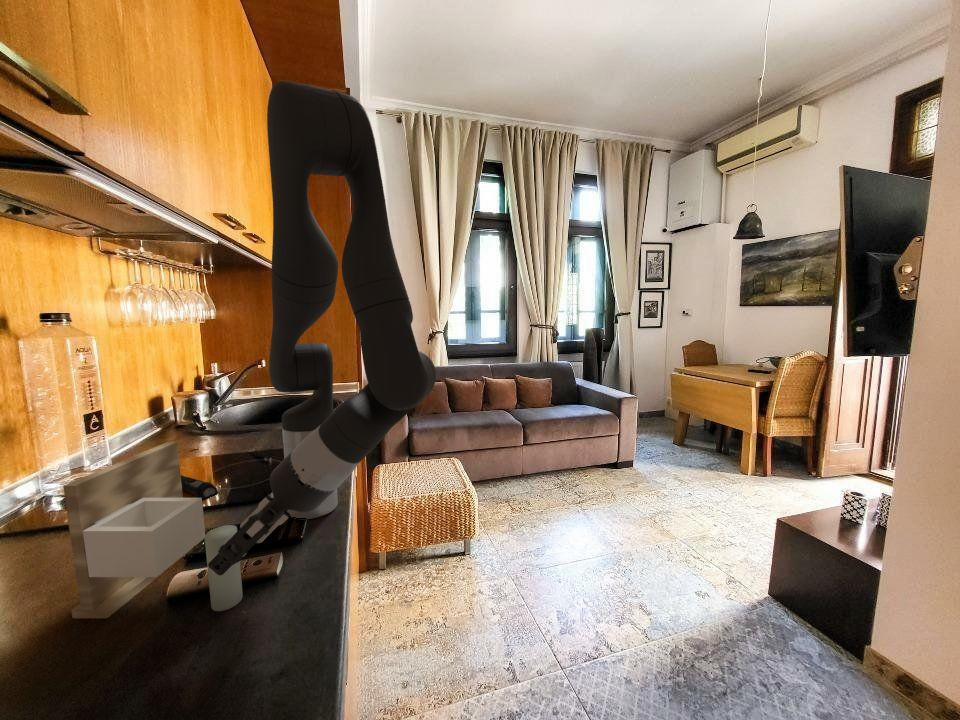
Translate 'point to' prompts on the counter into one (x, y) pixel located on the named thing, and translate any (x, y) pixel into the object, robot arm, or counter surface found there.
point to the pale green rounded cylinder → (229, 584)
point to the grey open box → (144, 537)
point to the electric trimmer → (198, 487)
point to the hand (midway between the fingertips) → (237, 548)
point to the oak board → (103, 496)
